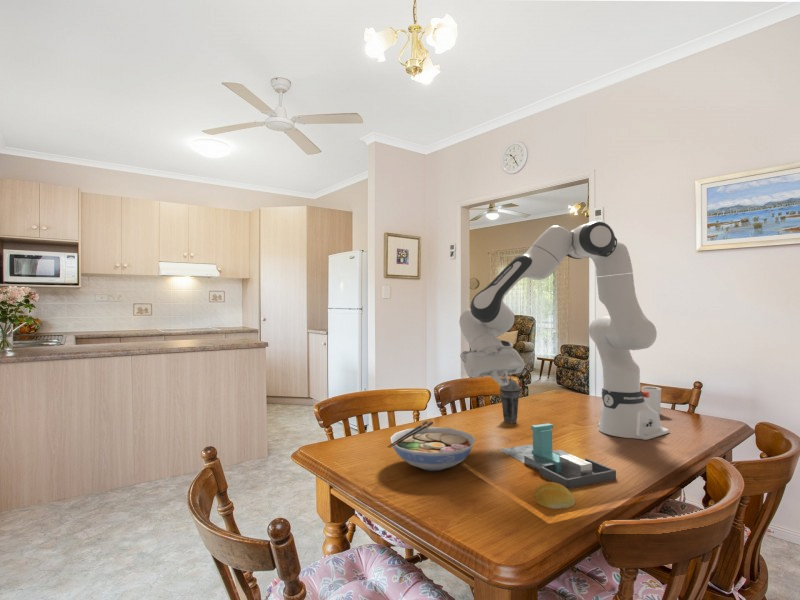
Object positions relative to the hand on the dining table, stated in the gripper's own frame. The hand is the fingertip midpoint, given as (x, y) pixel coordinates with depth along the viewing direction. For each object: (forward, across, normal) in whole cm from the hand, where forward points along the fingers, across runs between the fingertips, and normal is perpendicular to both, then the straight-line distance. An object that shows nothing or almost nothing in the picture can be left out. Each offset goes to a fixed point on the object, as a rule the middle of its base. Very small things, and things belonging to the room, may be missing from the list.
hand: (504, 384), depth 132 cm
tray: (+34, 0, -8) cm, 35 cm away
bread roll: (+39, -14, -12) cm, 43 cm away
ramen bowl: (+18, -28, +8) cm, 34 cm away
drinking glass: (+7, +76, +21) cm, 79 cm away
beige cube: (+32, -1, -7) cm, 32 cm away
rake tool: (+27, -1, -2) cm, 27 cm away
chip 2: (+34, -1, -9) cm, 35 cm away
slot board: (+24, 0, +3) cm, 24 cm away
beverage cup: (-2, +18, +29) cm, 34 cm away
